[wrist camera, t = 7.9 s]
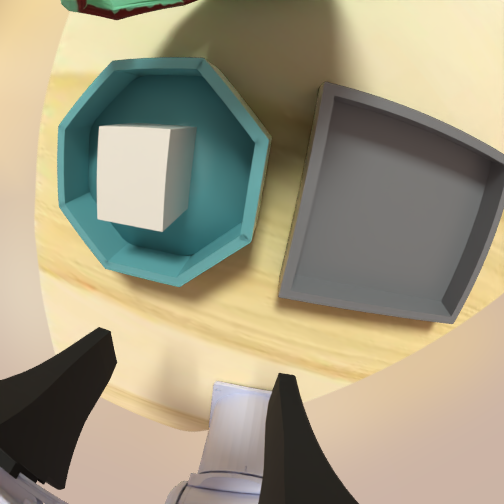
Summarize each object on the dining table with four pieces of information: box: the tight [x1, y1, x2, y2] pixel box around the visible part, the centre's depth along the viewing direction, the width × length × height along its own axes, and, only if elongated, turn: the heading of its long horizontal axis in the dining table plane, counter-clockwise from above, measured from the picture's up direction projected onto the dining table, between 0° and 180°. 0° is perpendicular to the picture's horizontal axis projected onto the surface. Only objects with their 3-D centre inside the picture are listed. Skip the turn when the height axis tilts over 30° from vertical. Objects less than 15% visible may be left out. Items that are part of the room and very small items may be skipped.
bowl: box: [57, 57, 272, 287], centre depth 16 cm, size 13×13×3 cm
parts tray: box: [278, 82, 504, 324], centre depth 15 cm, size 12×13×2 cm
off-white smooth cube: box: [97, 123, 197, 232], centre depth 15 cm, size 5×4×4 cm
